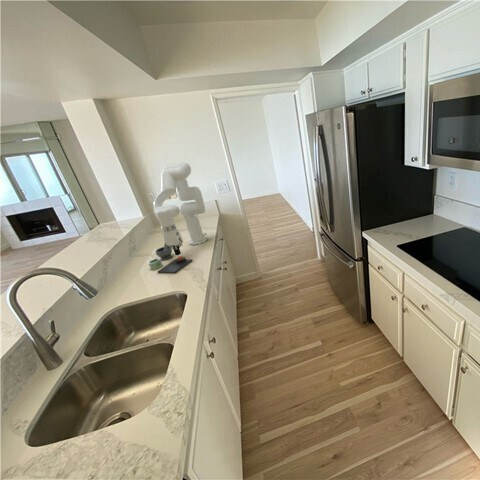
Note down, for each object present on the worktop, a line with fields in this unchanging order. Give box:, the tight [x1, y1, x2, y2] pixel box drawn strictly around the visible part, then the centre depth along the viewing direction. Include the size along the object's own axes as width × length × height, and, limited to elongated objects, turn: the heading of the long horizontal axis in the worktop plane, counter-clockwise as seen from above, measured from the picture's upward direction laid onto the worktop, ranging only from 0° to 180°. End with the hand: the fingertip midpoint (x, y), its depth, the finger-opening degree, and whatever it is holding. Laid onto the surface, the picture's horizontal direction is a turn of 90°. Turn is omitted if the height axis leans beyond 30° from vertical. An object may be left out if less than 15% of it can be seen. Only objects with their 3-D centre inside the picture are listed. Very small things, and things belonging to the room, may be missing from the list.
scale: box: [157, 256, 193, 274], centre depth 170 cm, size 16×13×3 cm
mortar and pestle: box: [155, 242, 173, 261], centre depth 184 cm, size 11×9×12 cm
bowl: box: [147, 257, 163, 270], centre depth 172 cm, size 7×7×5 cm
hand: (178, 254), depth 173 cm, fingers closed
